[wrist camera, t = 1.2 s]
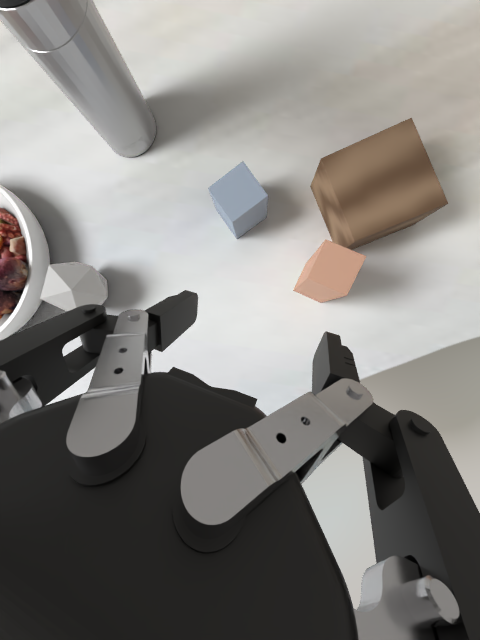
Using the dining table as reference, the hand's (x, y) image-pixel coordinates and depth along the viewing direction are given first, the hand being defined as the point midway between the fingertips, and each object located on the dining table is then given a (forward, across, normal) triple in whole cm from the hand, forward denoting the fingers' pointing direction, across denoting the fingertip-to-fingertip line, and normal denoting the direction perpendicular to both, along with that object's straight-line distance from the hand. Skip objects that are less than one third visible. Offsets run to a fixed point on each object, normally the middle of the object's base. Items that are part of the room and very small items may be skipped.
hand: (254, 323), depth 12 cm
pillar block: (+23, -4, +3) cm, 24 cm away
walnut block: (+31, -8, -8) cm, 33 cm away
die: (+14, +31, +12) cm, 37 cm away
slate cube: (+26, +10, -4) cm, 28 cm away
